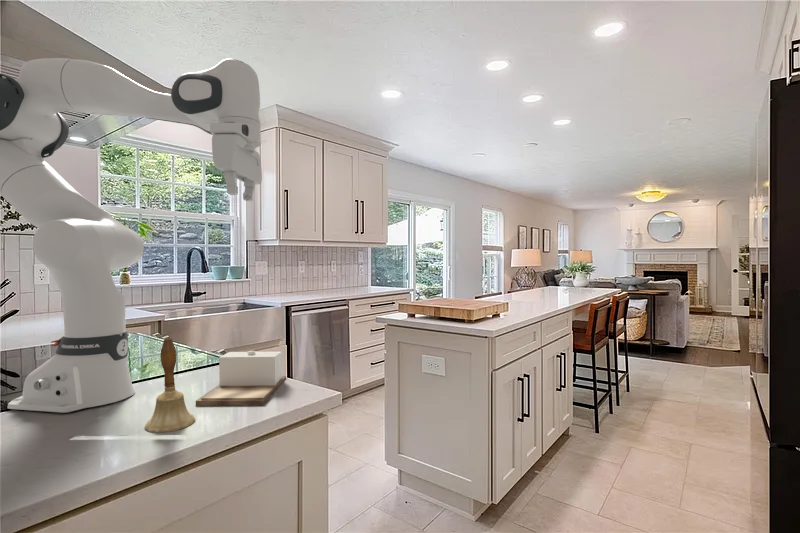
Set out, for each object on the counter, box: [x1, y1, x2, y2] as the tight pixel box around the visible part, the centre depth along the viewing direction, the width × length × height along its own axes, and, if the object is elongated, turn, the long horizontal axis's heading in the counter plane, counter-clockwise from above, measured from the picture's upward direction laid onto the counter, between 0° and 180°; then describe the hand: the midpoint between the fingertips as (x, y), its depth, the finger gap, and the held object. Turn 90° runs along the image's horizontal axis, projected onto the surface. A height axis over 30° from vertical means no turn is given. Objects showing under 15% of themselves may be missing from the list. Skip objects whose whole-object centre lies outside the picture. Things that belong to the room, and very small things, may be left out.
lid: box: [218, 350, 283, 386], centre depth 104 cm, size 13×6×7 cm, turn 90°
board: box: [195, 375, 287, 407], centre depth 100 cm, size 14×19×1 cm
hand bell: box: [144, 337, 196, 433], centre depth 80 cm, size 8×8×16 cm
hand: (240, 197), depth 97 cm, fingers open, 8 cm apart
